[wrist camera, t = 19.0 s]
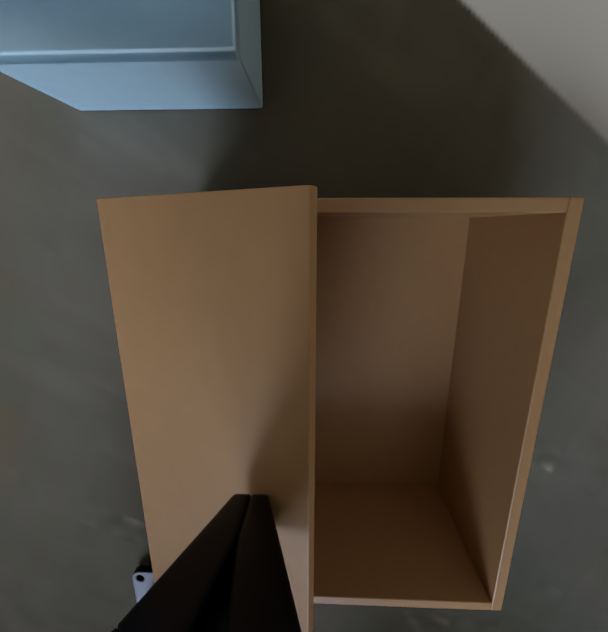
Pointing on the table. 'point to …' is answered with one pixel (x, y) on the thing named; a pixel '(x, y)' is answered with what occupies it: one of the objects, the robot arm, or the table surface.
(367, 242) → the carton
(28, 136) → the table surface
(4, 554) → the table surface
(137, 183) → the table surface
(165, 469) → the flap
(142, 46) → the case
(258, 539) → the robot arm
